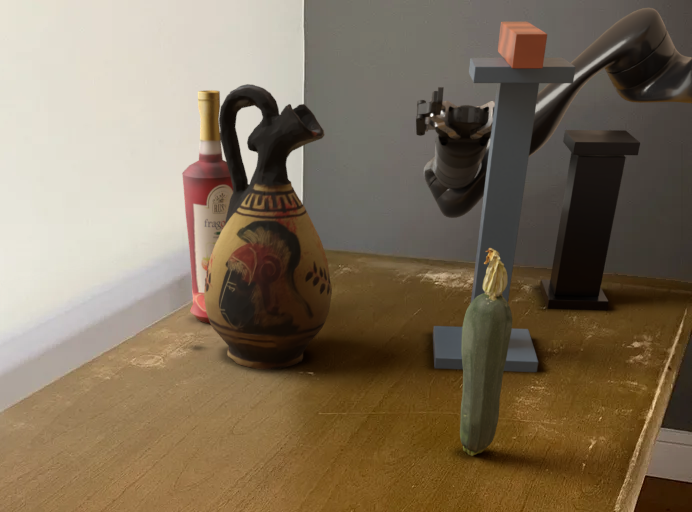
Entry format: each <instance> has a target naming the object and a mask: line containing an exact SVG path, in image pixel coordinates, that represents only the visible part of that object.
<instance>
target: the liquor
mask: <svg viewBox="0 0 692 512" xmlns="http://www.w3.org/2000/svg"><path fill="white" fill-rule="evenodd" d="M220 93H221V92H220V90H213V89H211V90H210V89H209V90H198V91H197V106H198V107H197V108H198V112H199V113H198V114H199V117H200V127H199V129H200V131H199V149H198V160H196V161H195V162H193V163H191V164H189V165H188V166H187V167H186V168H185V169H184V171H182V173H181V175H182V186H183V196H184V211H185V220H186V221H185V222H186V230H187V239H188V240H187V241H188V249H189V250H188V251H189V264H190V277H191V291H192V305H191V308H190V310H189V312H190V313H191V314H192V315H193V316H194V317H195V318H196V319H197V320H199V321H200V322H202V323H205V324H210V321H209V318H208V316H207V313H206V306H205V299H204V290H205V278H206V272H207V265H208V262H209V261H210V257H211V254H212V252H213V248H214V246H215V244H216V242H217V240H218V238H219V236H220V233H221V231H222V230H223V228H224V227H225V221H226V216H227V212H228V207H229V203H230V198H231V196H232V194H233V186H232V181H231V176H230V173H229V169H228V166H227V162H226V160H224V159H223V148H222V143H221V139H220V125H219V116H220V109H221V94H220Z"/></svg>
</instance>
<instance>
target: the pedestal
mask: <svg viewBox="0 0 692 512" xmlns="http://www.w3.org/2000/svg"><path fill="white" fill-rule="evenodd" d="M563 133H564V134H563V139H562V142H563V144H565V146H566V147H567V149H568V150H569V151H570V157H569V164H568V172H567V177H566V182H565V187H564V196H563V200H562V207H561V212H560V219H559V223H558V224H559V225H558V231H557V237H556V243H555V249H554V256H553V260H552V261H553V262H552V267H551V273H550V279H543V278H542V279H540V282H539V283H540V285H539V290H540V293H541V296H542V298H543V301H544V304H545V307H546V309H548V310H570V311H572V310H573V311H603V312H604V311H605V312H607V311H608V306H609V300H608V298H607V296H606V294H605V292H604V291H603V289H602V282H603V276H604V272H605V266H606V261H607V256H608V251H609V246H610V240H611V237H612V230H613V225H614V220H615V216H616V210H617V204H618V198H619V196H620V195H619V194H620V189H621V184H622V180H623V174H624V170H625V165H626V164H625V163H626V158H627V157H626V156H638V155H639V153H640V152H639V151H640V146H641V142H640V141H639V140H638V139H637V138H635V137H634V136H633V135H632V134H631V133H629V132H628V130H625V129H624V130H623V129H621V130H617V129H615V130H613V129H612V130H611V129H565V130H564V132H563Z"/></svg>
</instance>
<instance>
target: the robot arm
mask: <svg viewBox="0 0 692 512" xmlns="http://www.w3.org/2000/svg"><path fill="white" fill-rule="evenodd" d="M570 63H571V64H572V65H574V66H575V67H576V68H575V74H574V80H573V83H547V84H546V85H545V86H544V88H542V89H541V90H539V91H538V95H537V102H536V109H535V116H534V123H533V130H532V137H531V144H530V151H529V158H530V157H531V156H533V155H534V154H535V153H537V152H538V151H539V150H541V148H543V147H544V146H545V145H546V144H547V143H548V141H549V140H551V138H552V136H553V135H554V133H555V132H556V130H557V128H558V127H559V125H560V124H561V121H562V120H563V118H564V116H565V114H566V113H567V111H568V109H569V108H570V105H571V104H572V102H573V101H574V100H575V98H576V96H578V93H579V92H580V91H581V90H582V88H583V87H584V86H585V85H586V84H587V83H588V82H589V81H591V80H592V79H593V78H594V77H595V76H596V75H597V74H599V73H600V72H601V71H603V70H605V72H606V74H607V76H608V78H609V81H610V82H611V84H612V86H613V88H614V90H615V91H616V93H617V94H618V95H619V96H620V97H621V98H622V99H623V100H624V101H627V102H630V103H640V104H641V103H642V104H643V103H644V104H647V103H650V104H651V103H682V104H692V56H685V55H683V54H681V53H680V52H679V51H678V50H677V48H676V47H675V44H674V42H673V40H672V38H671V36H670V34H669V31H668V30H667V27H666V25H665V22H664V21H663V19H662V16H661V15H660V13H659V12H658V10H656V9H655V8H653V7H643V8H639V9H637V10H634V11H632V12H630V13H628V14H627V15H625V16H623V17H622V18H620V19H619V20H618V21H616V22H615V23H613V24H612V25H611V26H610V27H609V28H607V30H605V31H604V32H603V33H602V34H601V35H600V36H598V37H597V38H596V39H595V40H594V41H593V42H592V43H591V44H590V45H588V46H587V47H586V48H585V49H584V50H583V51H582V52H581V53H580V54H579V55H577V57H575V58H574V59H573V60H572V61H570ZM444 90H445V89H444V86H441V87H440V86H438V87H437V90H433V91H432V93H431V98H430V101H429V102H427V100H425V99H419V100H417V101H416V116H415V133H416V136H420V137H422V136H425V135H426V132H429V131H435V133H436V134H437V135H436V138H435V140H434V143H435V145H434V146H435V147H434V156H432V157H431V158H430V159H429V160H428V161H427V163H425V165H424V167H423V178H424V180H425V183H426V185H427V187H428V189H429V191H430V193H431V195H432V196H433V199H434V200H435V202H436V204H437V207H438V209H439V210H440V213H442V215H443V216H445V218H449V219H457V218H460V217H462V216H465V215H466V214H469V212H470V211H471V210H473V208H474V207H475V206H476V205H477V204H478V203H479V202H480V201H481V199H483V197H484V189H485V180H486V172H487V164H488V155H489V147H490V139H491V131H492V122H493V114H494V106H495V100H490V101H488V102H486V103H484V104H482V105H480V106H479V105H476V106H474V105H469V104H461V105H455V104H454V103H452V102H451V101H449V100H445V101H444Z"/></svg>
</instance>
